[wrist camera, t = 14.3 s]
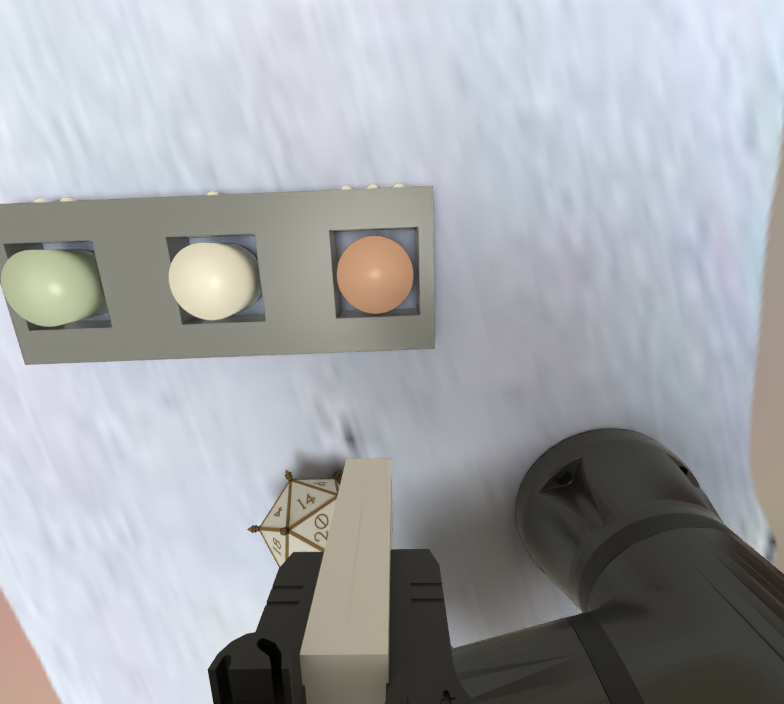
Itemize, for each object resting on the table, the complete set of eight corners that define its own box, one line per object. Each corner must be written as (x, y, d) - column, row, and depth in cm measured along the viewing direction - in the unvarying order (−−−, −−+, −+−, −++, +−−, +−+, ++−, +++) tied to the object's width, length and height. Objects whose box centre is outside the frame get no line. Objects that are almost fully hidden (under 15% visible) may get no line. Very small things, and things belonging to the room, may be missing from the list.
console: (428, 185, 28) (432, 178, 25) (430, 339, 31) (434, 348, 28) (16, 202, 28) (-26, 197, 25) (58, 353, 31) (25, 364, 28)
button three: (409, 235, 28) (412, 234, 25) (411, 303, 30) (414, 312, 26) (341, 238, 28) (333, 237, 25) (345, 306, 30) (339, 315, 26)
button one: (259, 241, 28) (239, 241, 25) (267, 309, 30) (250, 318, 26) (191, 244, 28) (161, 244, 25) (202, 312, 30) (176, 321, 26)
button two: (109, 247, 29) (68, 248, 25) (124, 315, 30) (87, 325, 26) (42, 250, 29) (-10, 251, 25) (60, 317, 30) (14, 328, 26)
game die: (311, 459, 38) (252, 451, 29) (392, 483, 36) (355, 482, 26) (282, 556, 36) (207, 580, 27) (366, 590, 33) (314, 629, 24)
